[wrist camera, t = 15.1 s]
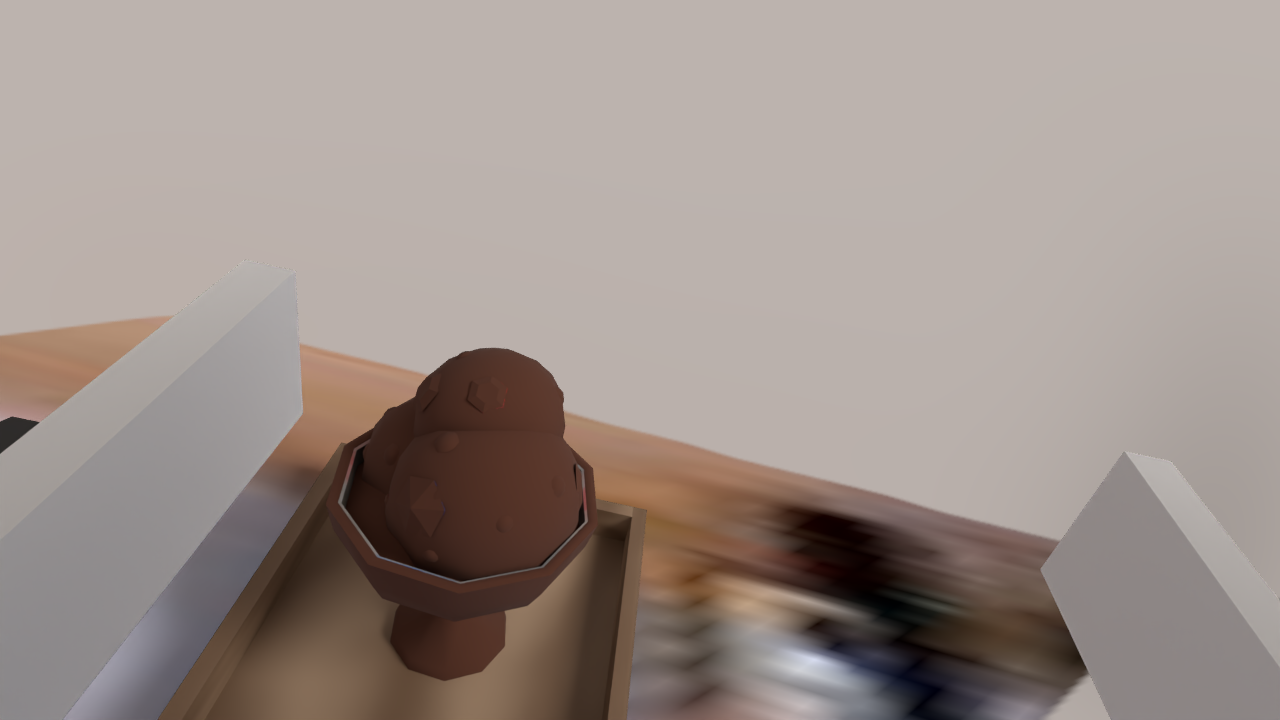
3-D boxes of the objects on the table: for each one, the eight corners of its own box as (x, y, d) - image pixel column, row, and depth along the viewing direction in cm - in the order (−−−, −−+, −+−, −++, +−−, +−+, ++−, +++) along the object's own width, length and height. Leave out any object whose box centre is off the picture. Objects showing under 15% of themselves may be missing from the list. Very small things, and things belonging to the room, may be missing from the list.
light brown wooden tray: (635, 546, 45) (646, 509, 43) (599, 871, 30) (615, 833, 28) (340, 482, 44) (341, 442, 43) (153, 784, 29) (143, 740, 28)
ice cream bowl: (313, 565, 38) (310, 307, 30) (527, 529, 43) (573, 300, 35) (340, 769, 30) (346, 494, 22) (596, 695, 35) (675, 451, 27)
